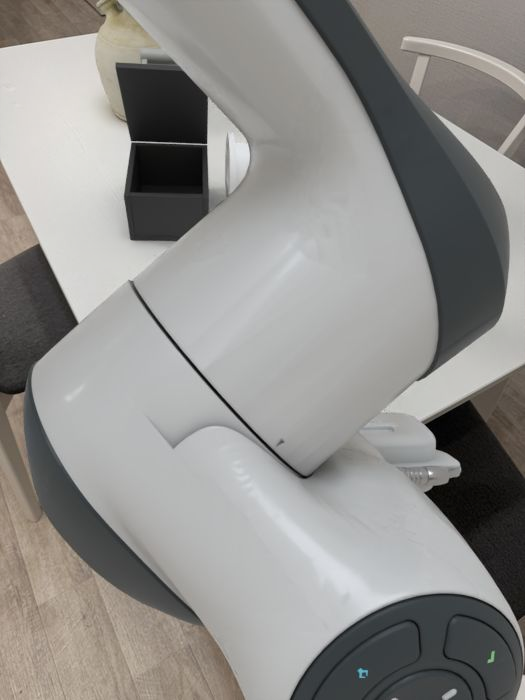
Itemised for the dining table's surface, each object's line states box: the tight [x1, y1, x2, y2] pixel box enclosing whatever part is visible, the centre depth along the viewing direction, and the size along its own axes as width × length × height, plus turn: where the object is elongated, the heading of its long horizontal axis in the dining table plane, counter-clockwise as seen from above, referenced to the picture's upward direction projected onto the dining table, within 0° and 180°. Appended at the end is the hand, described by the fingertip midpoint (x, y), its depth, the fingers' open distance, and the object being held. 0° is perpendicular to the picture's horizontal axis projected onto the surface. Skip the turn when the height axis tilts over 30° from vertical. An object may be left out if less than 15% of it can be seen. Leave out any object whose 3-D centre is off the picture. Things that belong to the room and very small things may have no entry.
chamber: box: [123, 141, 210, 242], centre depth 78 cm, size 14×12×8 cm
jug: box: [94, 0, 175, 122], centre depth 90 cm, size 15×16×25 cm
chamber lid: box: [115, 48, 209, 145], centre depth 72 cm, size 14×12×5 cm
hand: (268, 421), depth 42 cm, fingers open, 8 cm apart
